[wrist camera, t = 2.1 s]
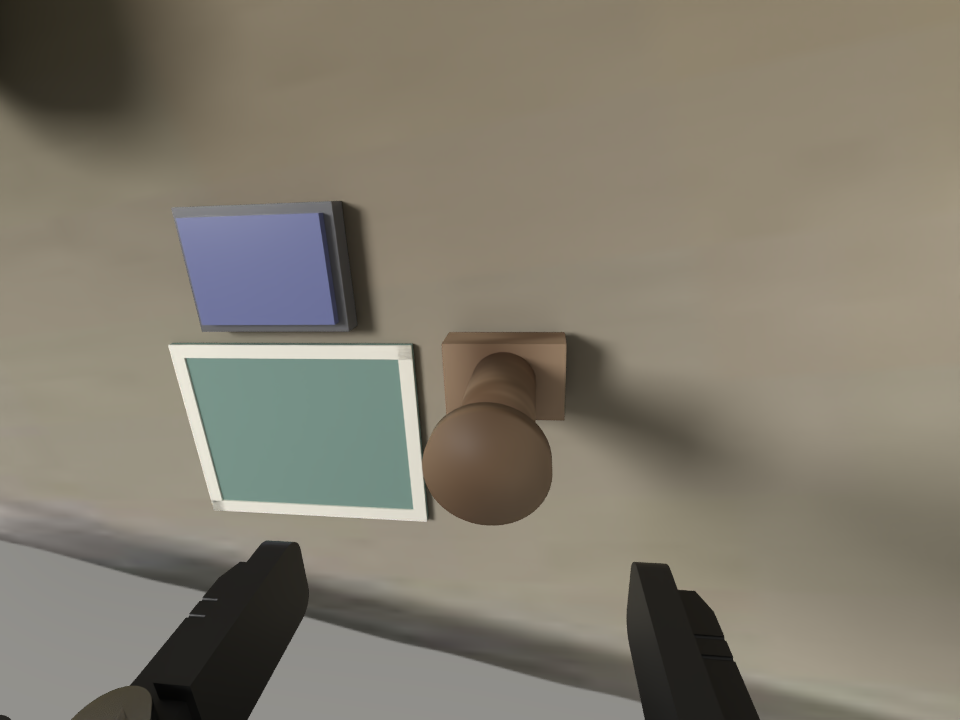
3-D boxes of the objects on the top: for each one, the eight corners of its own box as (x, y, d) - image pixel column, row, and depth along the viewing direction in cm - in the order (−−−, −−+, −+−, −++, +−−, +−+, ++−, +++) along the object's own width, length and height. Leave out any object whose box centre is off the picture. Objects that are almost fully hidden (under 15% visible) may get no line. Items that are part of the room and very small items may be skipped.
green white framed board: (412, 343, 25) (410, 345, 25) (428, 517, 29) (426, 521, 29) (173, 342, 27) (167, 344, 27) (217, 506, 31) (213, 510, 31)
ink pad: (341, 201, 23) (326, 201, 22) (357, 325, 25) (345, 333, 24) (188, 206, 24) (163, 208, 23) (216, 325, 27) (195, 333, 25)
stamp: (564, 325, 24) (579, 414, 14) (562, 402, 26) (574, 530, 16) (451, 325, 25) (393, 410, 15) (455, 400, 26) (405, 520, 17)
